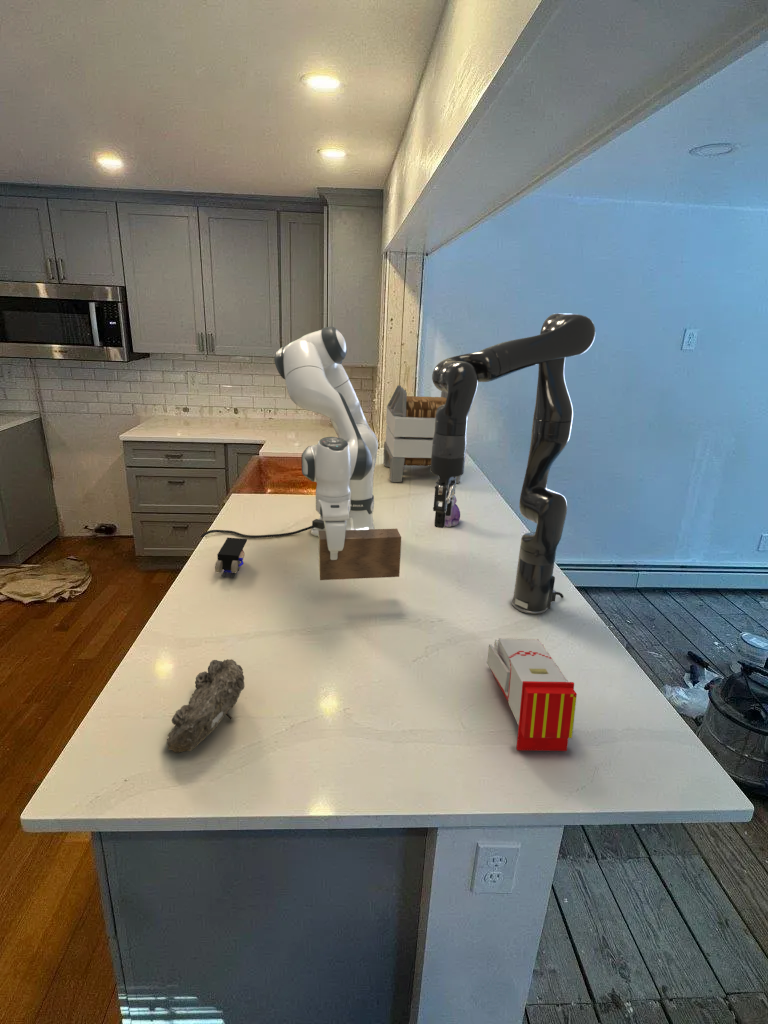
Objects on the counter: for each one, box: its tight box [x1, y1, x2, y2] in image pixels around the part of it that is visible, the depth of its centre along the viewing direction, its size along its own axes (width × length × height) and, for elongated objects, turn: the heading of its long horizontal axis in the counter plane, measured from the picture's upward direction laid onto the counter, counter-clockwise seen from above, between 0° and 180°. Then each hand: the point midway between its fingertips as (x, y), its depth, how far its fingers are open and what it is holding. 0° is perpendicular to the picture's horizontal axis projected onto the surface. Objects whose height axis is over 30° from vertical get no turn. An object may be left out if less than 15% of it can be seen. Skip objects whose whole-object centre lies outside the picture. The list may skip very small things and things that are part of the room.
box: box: [318, 528, 402, 581], centre depth 149 cm, size 21×6×12 cm, turn 99°
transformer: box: [383, 384, 461, 484], centre depth 268 cm, size 34×33×41 cm
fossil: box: [166, 658, 245, 754], centre depth 106 cm, size 22×10×15 cm
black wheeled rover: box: [214, 537, 248, 578], centre depth 166 cm, size 7×8×15 cm
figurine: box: [444, 494, 461, 528], centre depth 209 cm, size 9×10×15 cm
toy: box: [486, 637, 578, 752], centre depth 114 cm, size 12×13×30 cm
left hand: (332, 553), depth 147 cm, fingers closed on box, 6 cm apart
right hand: (442, 520), depth 131 cm, fingers open, 8 cm apart
